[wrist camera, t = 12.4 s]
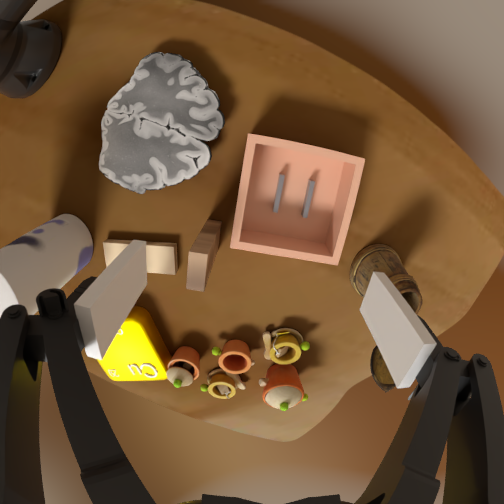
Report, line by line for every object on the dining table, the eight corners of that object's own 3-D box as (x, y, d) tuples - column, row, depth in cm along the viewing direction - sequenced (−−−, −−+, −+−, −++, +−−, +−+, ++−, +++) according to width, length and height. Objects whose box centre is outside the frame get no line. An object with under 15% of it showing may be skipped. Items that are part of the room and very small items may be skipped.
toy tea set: (305, 319, 47) (313, 358, 38) (312, 378, 53) (319, 415, 44) (162, 339, 50) (147, 375, 41) (190, 392, 56) (182, 427, 47)
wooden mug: (328, 309, 46) (356, 391, 29) (363, 236, 41) (419, 298, 24) (371, 320, 47) (408, 394, 30) (407, 253, 42) (468, 313, 25)
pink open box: (249, 134, 36) (248, 133, 30) (350, 155, 36) (365, 158, 31) (233, 232, 41) (230, 247, 36) (327, 248, 42) (337, 265, 36)
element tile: (146, 303, 47) (137, 318, 43) (177, 365, 52) (171, 382, 48) (84, 312, 49) (73, 326, 44) (117, 368, 54) (110, 383, 50)
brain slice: (193, 209, 40) (188, 214, 38) (96, 169, 38) (86, 172, 35) (249, 81, 33) (248, 77, 31) (141, 49, 31) (133, 44, 28)
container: (75, 203, 40) (-11, 249, 21) (103, 254, 43) (32, 323, 25) (43, 228, 42) (-33, 278, 23) (69, 275, 45) (4, 338, 26)
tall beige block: (207, 219, 41) (188, 251, 30) (221, 221, 41) (207, 254, 30) (204, 248, 42) (186, 288, 31) (217, 250, 42) (203, 291, 31)
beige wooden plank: (177, 242, 43) (173, 246, 41) (178, 268, 44) (175, 274, 42) (108, 238, 42) (103, 242, 41) (111, 263, 44) (106, 268, 42)
